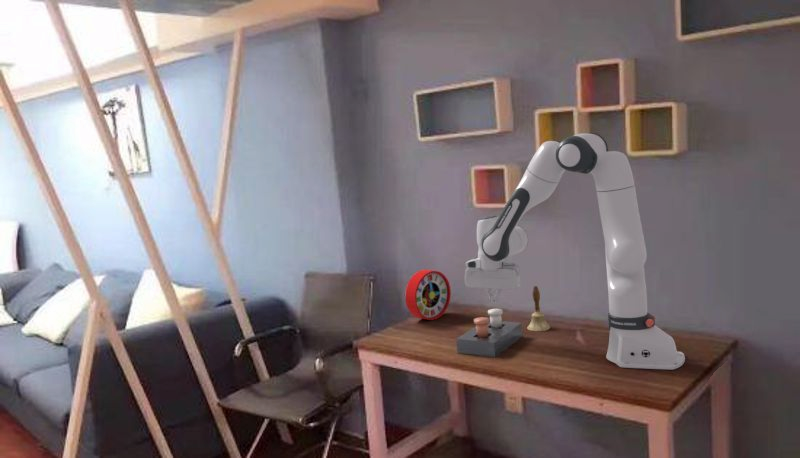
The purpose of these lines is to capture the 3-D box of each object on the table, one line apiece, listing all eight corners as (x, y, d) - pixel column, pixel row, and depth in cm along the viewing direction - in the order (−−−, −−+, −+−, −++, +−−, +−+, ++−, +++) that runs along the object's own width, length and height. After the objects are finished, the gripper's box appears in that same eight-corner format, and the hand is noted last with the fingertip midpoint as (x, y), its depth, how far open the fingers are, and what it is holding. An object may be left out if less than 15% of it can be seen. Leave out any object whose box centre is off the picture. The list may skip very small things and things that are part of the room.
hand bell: (550, 331, 232) (547, 288, 230) (527, 332, 234) (524, 289, 232) (549, 324, 240) (547, 282, 238) (527, 325, 242) (524, 284, 240)
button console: (522, 336, 230) (521, 322, 229) (495, 357, 211) (493, 342, 210) (486, 332, 237) (485, 319, 237) (457, 353, 218) (456, 338, 218)
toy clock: (417, 325, 255) (412, 276, 253) (407, 323, 260) (403, 275, 257) (452, 313, 268) (448, 266, 266) (442, 311, 273) (438, 265, 270)
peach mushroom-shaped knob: (492, 334, 220) (491, 317, 219) (486, 338, 215) (485, 322, 215) (479, 332, 222) (477, 316, 222) (472, 337, 218) (471, 320, 217)
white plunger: (506, 324, 229) (505, 309, 228) (500, 329, 224) (498, 313, 224) (492, 323, 232) (491, 308, 231) (486, 328, 227) (485, 312, 226)
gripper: (522, 261, 222) (524, 300, 224) (469, 259, 233) (471, 296, 235) (515, 265, 217) (517, 304, 218) (461, 262, 228) (463, 300, 230)
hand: (493, 300), depth 227 cm, fingers closed
